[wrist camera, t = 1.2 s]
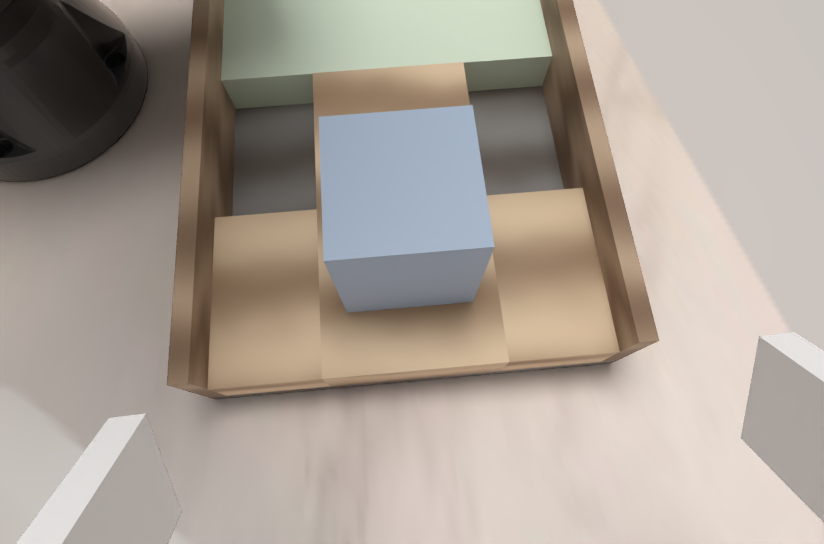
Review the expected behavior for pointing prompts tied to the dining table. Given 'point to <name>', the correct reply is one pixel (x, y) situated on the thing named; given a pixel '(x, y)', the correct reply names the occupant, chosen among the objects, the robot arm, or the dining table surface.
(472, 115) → the slate block
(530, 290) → the box
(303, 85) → the pad
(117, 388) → the dining table surface
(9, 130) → the robot arm
